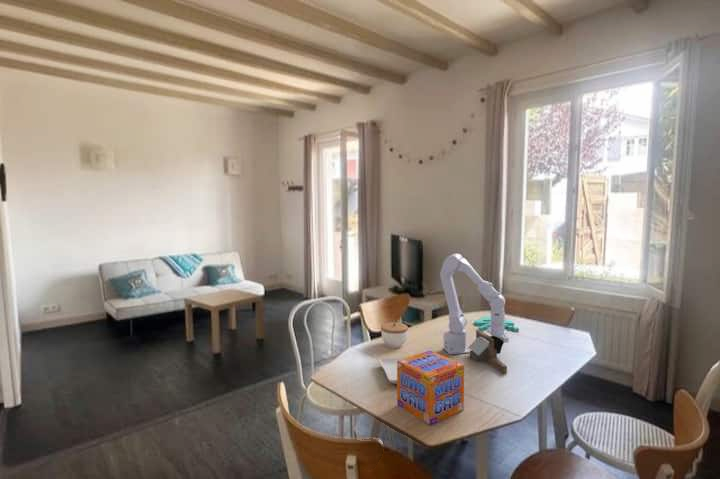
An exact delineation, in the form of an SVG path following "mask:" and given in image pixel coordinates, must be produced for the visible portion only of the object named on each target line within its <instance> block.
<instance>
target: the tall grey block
mask: <svg viewBox="0 0 720 479" xmlns="http://www.w3.org/2000/svg"><path fill="white" fill-rule="evenodd" d="M469 357H470V358H471V359H472V360H473V361H474V362H478V361H479V362H481V361H489V346H488V347H487V348H486V349H485V350H484V351H483V352H482V353H481V354H480V355H479V356H478V355H477V354H476V353H474V352H473V351H472V350H469ZM494 357H495V358H497V357H498V354H497V350H496V349H495V348H494ZM497 359H498V358H497Z"/></svg>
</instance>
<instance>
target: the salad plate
mask: <svg viewBox="0 0 720 479" xmlns="http://www.w3.org/2000/svg"><path fill="white" fill-rule="evenodd" d="M408 357H409V356H400V357H399V356H397V357H385V358H384V357H383V358H379V359H377V362H378V364H379V365H380V366H381V367H382V369H383V370H384V373H385V375H386V377H387V379H388V381H389V383H392V384H395V385H397V361H398V360H402V359H405V358H408Z"/></svg>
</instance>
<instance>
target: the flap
mask: <svg viewBox="0 0 720 479" xmlns="http://www.w3.org/2000/svg"><path fill="white" fill-rule="evenodd" d="M488 346H489V342H488V341H487V340H485V339H484V338H482V337H480V336H479V337H478V338H477V339H476V338H475V340H474V341H472V343H470V345H469V346H468V347H467V348H468V349H469V350H470V351H473V352H474V353H476V354H477V355H478V356H479V355H480V354H481V353H482V352H483V351H484V350H485V349H486V348H487V347H488Z"/></svg>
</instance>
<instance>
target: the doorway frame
mask: <svg viewBox="0 0 720 479" xmlns="http://www.w3.org/2000/svg"><path fill="white" fill-rule="evenodd" d="M475 331H476V334H475V336H476V337H475V340H476V339H477V338H478V337H479V336H480V337H481V338H483V339H484V340H486V341H487V342H488V343H489V360H488V363H489V364H490V365H491V366H493V367H494V368H495V369H497V371H499V372H500V373H502V374H503V375H504V374H505V375H506V374H507V373H508V370H507V369H508V366H507V364H505V363H503V362H502V361H501V360H499V358H495V357H494V339H493V338H491V337H490V336H491V335H488V334H487V333H485V332H484V331H481V330H478V329H476V330H475Z"/></svg>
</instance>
